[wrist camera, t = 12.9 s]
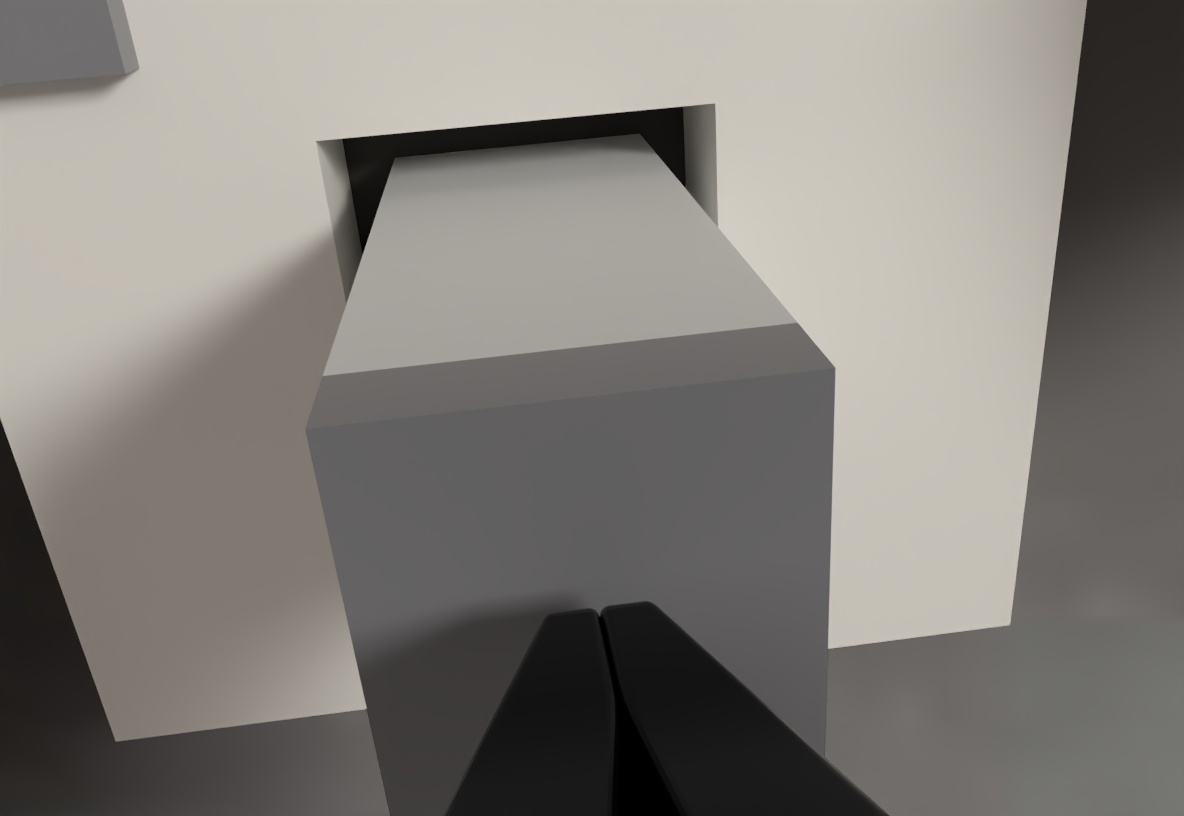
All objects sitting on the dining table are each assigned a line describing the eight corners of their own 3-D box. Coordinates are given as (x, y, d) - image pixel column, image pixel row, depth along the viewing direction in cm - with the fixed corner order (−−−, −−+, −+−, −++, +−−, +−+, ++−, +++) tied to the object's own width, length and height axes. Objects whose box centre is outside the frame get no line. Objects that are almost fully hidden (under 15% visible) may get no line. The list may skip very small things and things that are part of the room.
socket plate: (951, 550, 21) (1025, 645, 18) (155, 649, 20) (104, 767, 17) (1025, -255, 15) (1151, -297, 12) (-107, -172, 14) (-251, -197, 11)
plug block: (652, 358, 19) (824, 763, 10) (430, 383, 18) (392, 824, 9) (639, 133, 17) (835, 367, 8) (394, 158, 17) (305, 429, 8)
